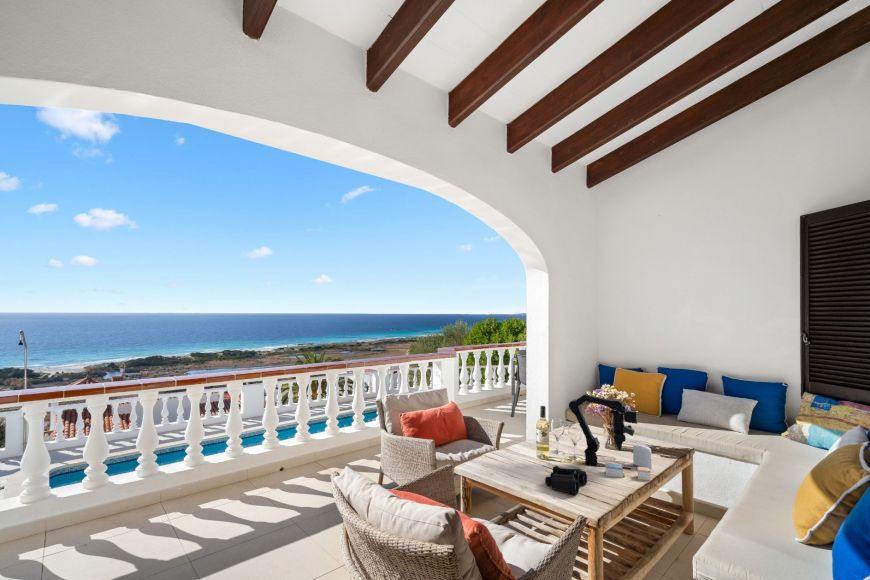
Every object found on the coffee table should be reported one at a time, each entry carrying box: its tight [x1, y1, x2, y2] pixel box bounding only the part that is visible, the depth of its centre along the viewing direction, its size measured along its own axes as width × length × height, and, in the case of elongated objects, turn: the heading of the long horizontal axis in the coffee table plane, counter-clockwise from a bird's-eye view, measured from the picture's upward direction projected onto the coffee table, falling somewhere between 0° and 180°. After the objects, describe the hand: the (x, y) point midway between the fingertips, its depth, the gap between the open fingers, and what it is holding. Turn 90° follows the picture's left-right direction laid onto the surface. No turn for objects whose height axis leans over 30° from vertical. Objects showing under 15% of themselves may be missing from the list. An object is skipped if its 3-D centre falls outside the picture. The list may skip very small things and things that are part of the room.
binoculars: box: [544, 465, 588, 495], centre depth 219 cm, size 22×19×10 cm
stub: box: [636, 466, 652, 481], centre depth 227 cm, size 6×5×5 cm
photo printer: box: [632, 444, 653, 470], centre depth 245 cm, size 10×4×12 cm, turn 43°
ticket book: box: [604, 462, 626, 478], centre depth 233 cm, size 10×6×5 cm, turn 69°
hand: (619, 448), depth 241 cm, fingers open, 9 cm apart
